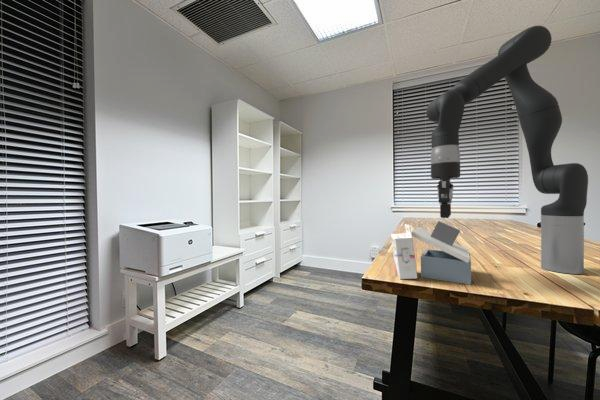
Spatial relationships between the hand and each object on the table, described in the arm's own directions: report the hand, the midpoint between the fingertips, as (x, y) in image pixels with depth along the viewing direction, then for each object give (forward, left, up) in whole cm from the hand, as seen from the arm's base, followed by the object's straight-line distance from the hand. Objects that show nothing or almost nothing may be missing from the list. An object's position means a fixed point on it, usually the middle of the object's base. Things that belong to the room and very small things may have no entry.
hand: (445, 216), depth 73 cm
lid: (+1, -2, -8) cm, 8 cm away
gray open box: (0, 0, -17) cm, 17 cm away
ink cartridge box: (+7, -10, -17) cm, 21 cm away
